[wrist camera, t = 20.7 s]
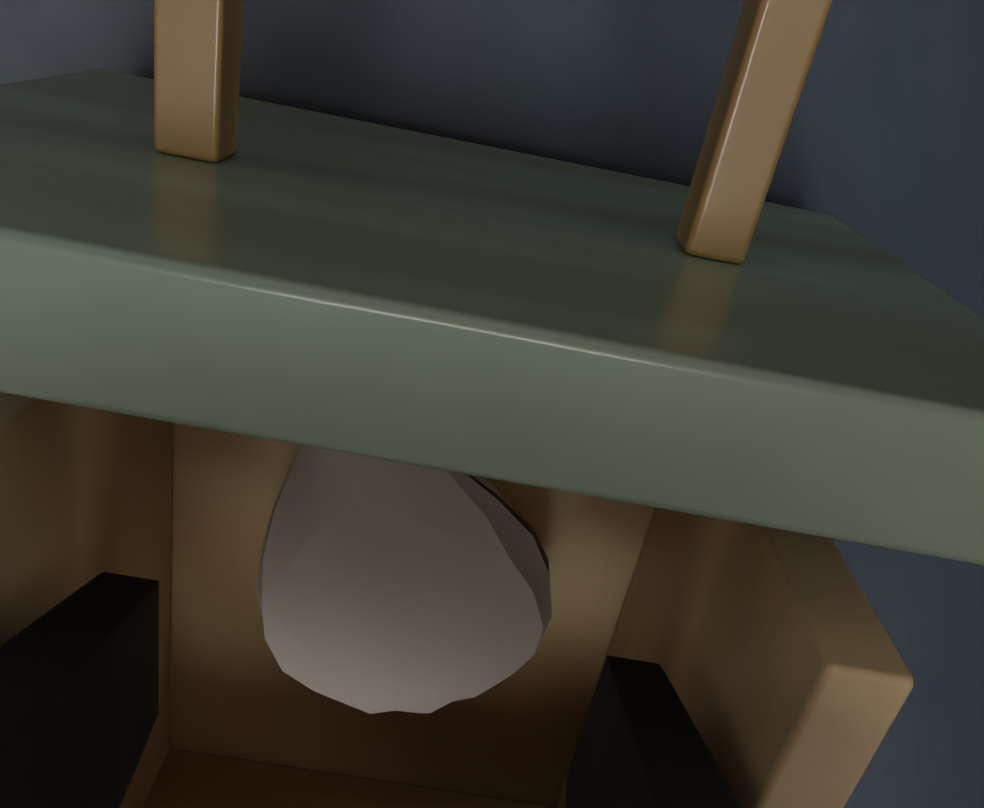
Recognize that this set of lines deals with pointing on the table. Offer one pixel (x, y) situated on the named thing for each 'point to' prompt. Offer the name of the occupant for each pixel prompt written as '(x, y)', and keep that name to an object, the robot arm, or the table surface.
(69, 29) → the table surface
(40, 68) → the table surface
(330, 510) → the beige pebble
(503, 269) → the drawer
